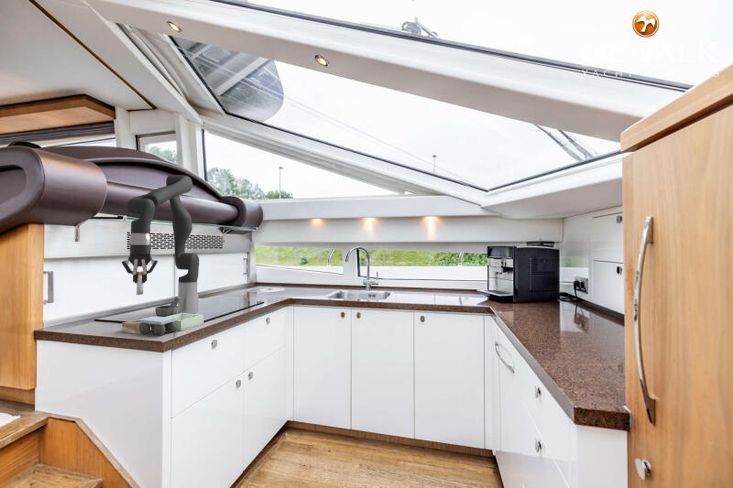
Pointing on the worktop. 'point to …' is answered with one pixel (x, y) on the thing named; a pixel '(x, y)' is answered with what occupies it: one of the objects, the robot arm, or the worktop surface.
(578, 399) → the worktop surface
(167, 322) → the trolley
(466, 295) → the worktop surface
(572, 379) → the worktop surface
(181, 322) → the tray
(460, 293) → the worktop surface
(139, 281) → the stop pin
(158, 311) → the mortar and pestle
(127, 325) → the stop block
